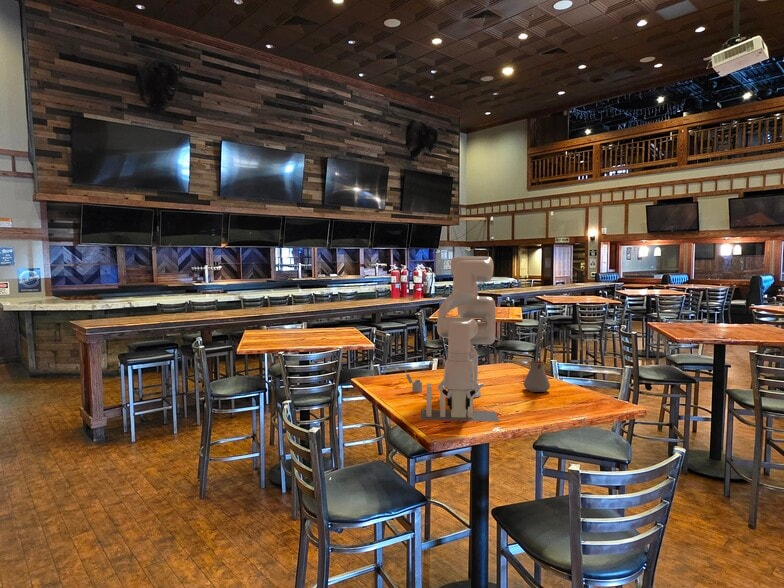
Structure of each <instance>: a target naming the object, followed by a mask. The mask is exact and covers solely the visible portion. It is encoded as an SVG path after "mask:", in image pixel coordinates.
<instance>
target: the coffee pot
mask: <svg viewBox="0 0 784 588" xmlns="http://www.w3.org/2000/svg"><path fill="white" fill-rule="evenodd" d="M528 363H529V365H530V368H529V371H528V373H527V375H526V377H525V379H524V382H523V387H524V388H525V389H526V390H527V391H528V390H529V391H532V392H531V393H533V392H544V393H546V392H545V391H548V390H549V389H550V387H551V384H550V381H549V378H548V377H547V373H546V371H545V369H544V366H545V362H544V361H538V360H531V361H529V362H528ZM529 391H528V392H529Z"/></svg>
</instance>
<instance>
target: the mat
mask: <svg viewBox="0 0 784 588" xmlns="http://www.w3.org/2000/svg"><path fill="white" fill-rule="evenodd" d="M420 420H424V421H426V420H427V421H453V422H454V421H457V422H458V421H460V422H463V421H465V422H488V423H489V422H491V423H492V422H495V423H496V422H498V423H499V422H501V421H500V419H499V417H498V415H497V413H496V411H495V410H494V411H493V410H490V411H489V410H473V418H468V416H467V410H466V417H451V410H450V409H445V417H440V409H432V410H431V417H426V409H424V408H423V409H420Z"/></svg>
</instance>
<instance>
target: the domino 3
mask: <svg viewBox="0 0 784 588" xmlns="http://www.w3.org/2000/svg"><path fill="white" fill-rule="evenodd" d="M451 398H452V409H451V417H466V411H467V410H466V390H452V393H451Z"/></svg>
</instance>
